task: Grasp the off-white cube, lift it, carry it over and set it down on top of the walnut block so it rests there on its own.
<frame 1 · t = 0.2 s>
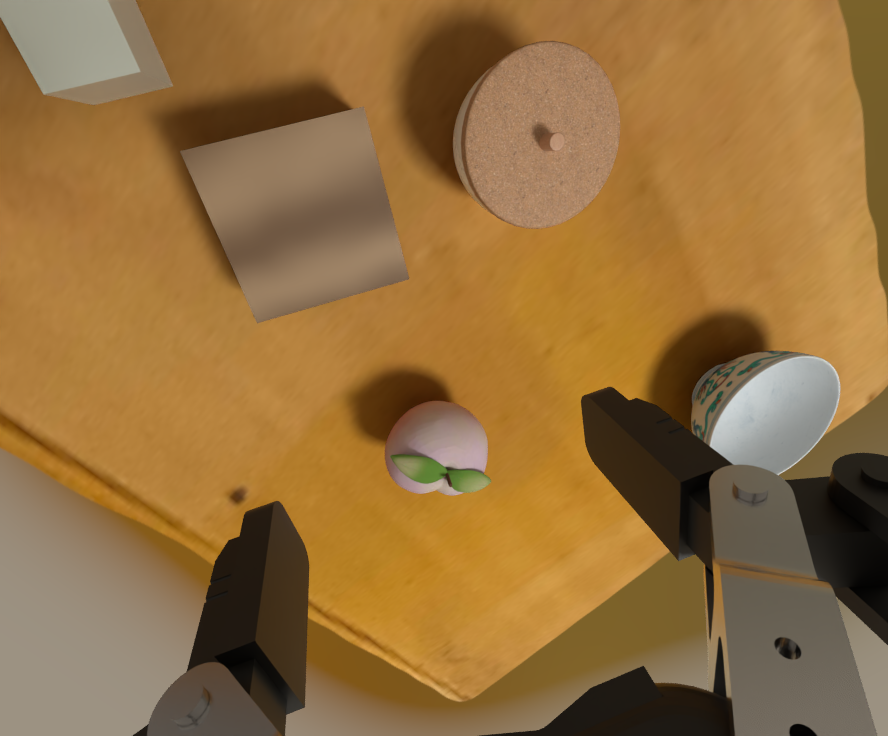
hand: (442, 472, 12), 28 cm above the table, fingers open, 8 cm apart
lidded jar: (502, 144, 36), on the table
chinaware: (715, 388, 53), on the table
walnut block: (309, 211, 35), on the table
off-white cube: (112, 49, 28), on the table
decorative fruit: (426, 416, 45), on the table
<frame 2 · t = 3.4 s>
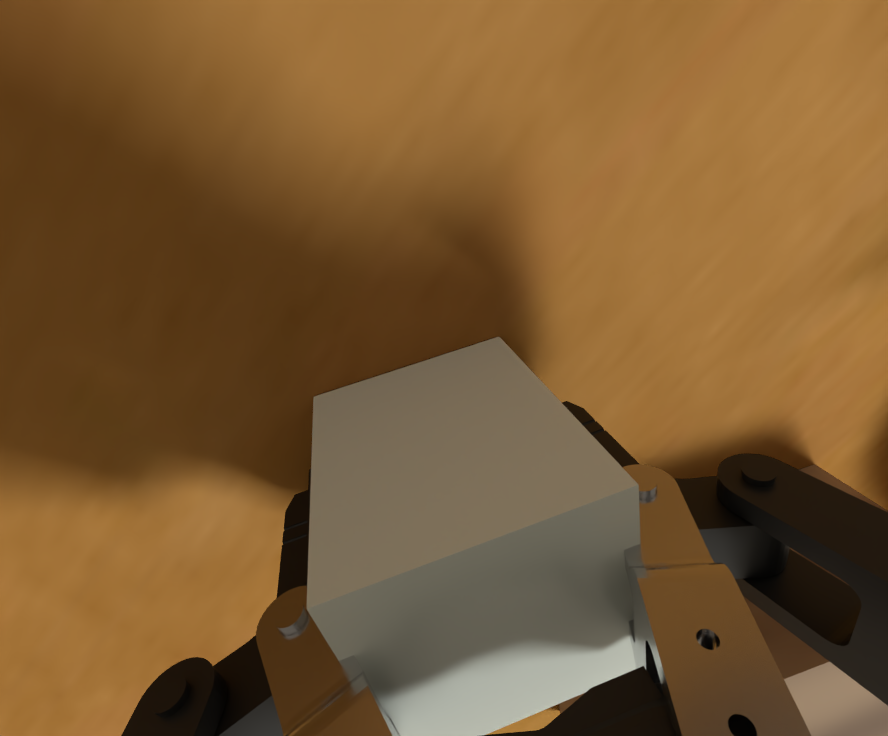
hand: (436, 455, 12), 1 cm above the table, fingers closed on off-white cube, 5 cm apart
walnut block: (672, 593, 20), on the table
off-white cube: (431, 441, 13), on the table, touching gripper
when the fingers open (7 cm above the table, at t = 8.0 s): off-white cube stays where it is, resting on walnut block.
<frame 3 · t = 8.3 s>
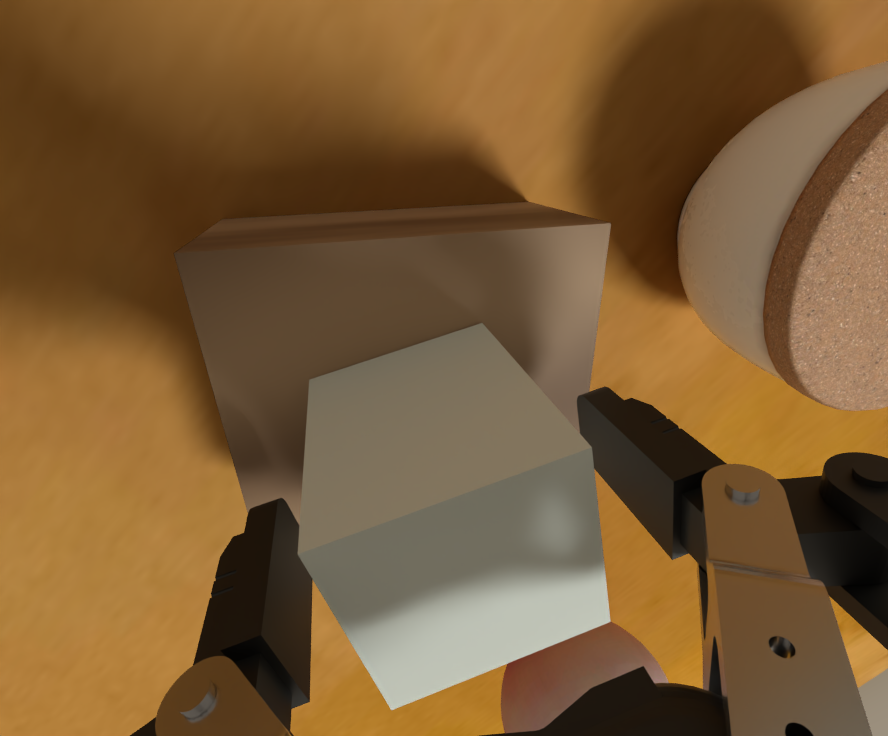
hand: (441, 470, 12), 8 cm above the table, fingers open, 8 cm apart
lidded jar: (734, 217, 20), on the table
walnut block: (395, 346, 19), on the table, touching off-white cube
off-white cube: (421, 422, 14), point 6 cm above the table, touching walnut block
decorative fruit: (545, 613, 29), on the table
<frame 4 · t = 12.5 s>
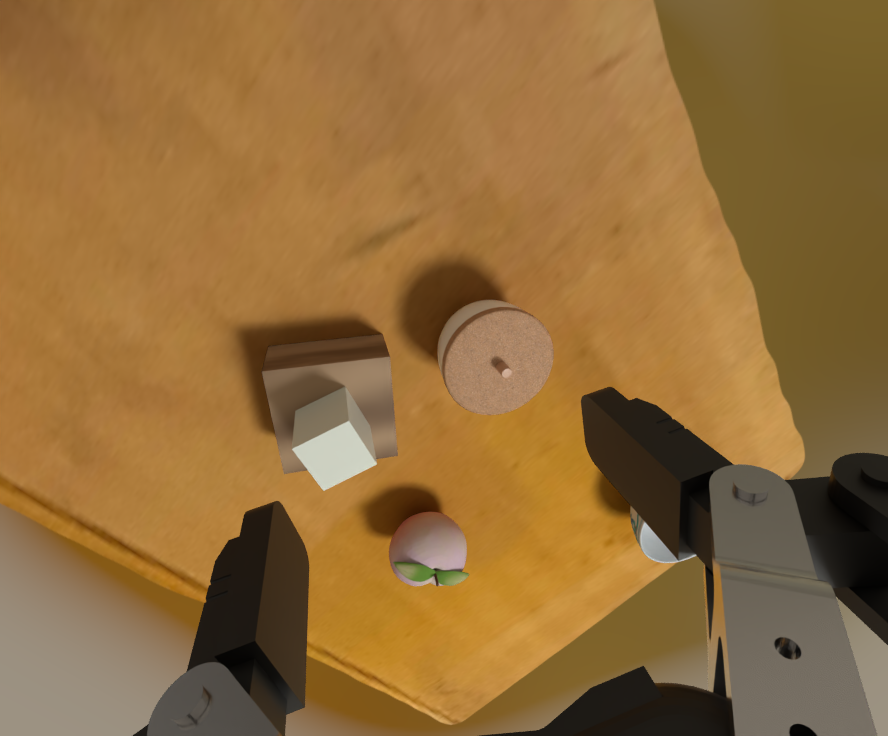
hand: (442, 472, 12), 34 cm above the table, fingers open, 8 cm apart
lidded jar: (475, 334, 49), on the table
chinaware: (653, 481, 66), on the table
walnut block: (333, 387, 48), on the table, touching off-white cube
off-white cube: (333, 418, 42), point 6 cm above the table, touching walnut block
decorative fruit: (420, 516, 58), on the table
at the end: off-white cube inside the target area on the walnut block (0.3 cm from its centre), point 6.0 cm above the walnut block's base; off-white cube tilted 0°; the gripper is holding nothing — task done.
